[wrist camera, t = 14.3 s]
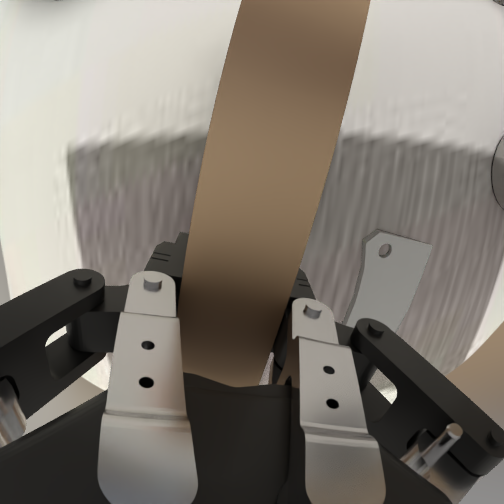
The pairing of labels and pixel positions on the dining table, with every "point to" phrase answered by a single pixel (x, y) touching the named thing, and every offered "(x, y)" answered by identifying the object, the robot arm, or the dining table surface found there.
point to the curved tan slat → (263, 178)
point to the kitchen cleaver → (387, 279)
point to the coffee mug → (499, 2)
